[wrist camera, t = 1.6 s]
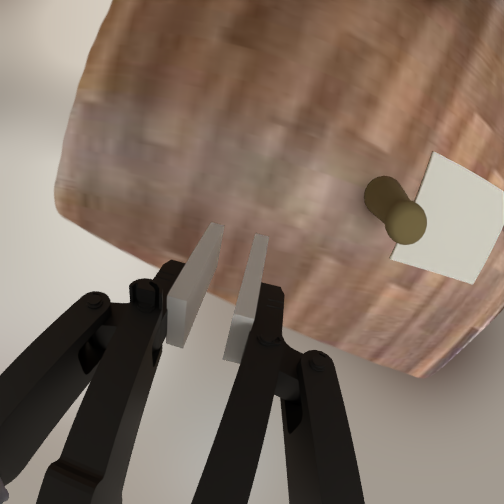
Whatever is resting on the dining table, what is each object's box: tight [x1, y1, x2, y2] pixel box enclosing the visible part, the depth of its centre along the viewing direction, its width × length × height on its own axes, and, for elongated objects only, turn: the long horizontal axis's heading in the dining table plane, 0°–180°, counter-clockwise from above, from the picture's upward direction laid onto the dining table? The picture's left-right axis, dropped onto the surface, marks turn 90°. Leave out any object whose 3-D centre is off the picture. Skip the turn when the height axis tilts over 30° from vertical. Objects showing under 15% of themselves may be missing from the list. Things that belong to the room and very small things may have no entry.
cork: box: [364, 176, 427, 245], centre depth 33 cm, size 6×6×11 cm
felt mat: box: [390, 152, 504, 284], centre depth 37 cm, size 20×18×1 cm
